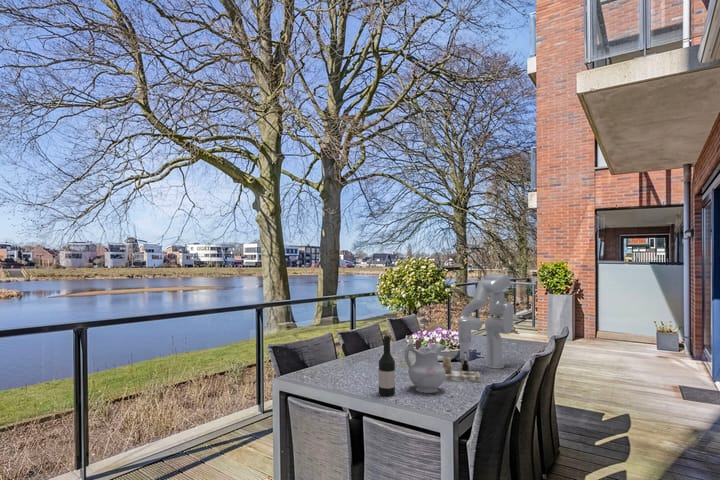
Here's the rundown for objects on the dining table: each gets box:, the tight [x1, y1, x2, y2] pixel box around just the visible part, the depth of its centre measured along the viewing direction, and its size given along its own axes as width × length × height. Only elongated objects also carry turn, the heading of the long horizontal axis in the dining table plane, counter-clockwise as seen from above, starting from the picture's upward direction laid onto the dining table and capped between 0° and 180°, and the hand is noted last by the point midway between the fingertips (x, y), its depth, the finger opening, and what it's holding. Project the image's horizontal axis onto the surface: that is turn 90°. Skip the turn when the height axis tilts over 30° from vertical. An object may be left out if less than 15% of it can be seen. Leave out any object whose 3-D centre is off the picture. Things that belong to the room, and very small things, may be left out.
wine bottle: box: [378, 334, 396, 398], centre depth 220 cm, size 8×8×30 cm
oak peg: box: [460, 358, 470, 371], centre depth 259 cm, size 5×5×12 cm
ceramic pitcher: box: [404, 342, 445, 394], centre depth 227 cm, size 22×20×25 cm
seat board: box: [442, 356, 482, 383], centre depth 249 cm, size 24×12×12 cm, turn 80°
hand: (465, 369), depth 259 cm, fingers closed on oak peg, 4 cm apart
